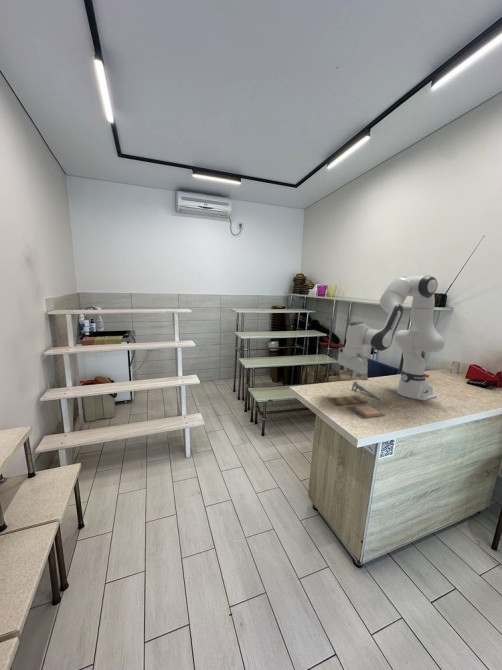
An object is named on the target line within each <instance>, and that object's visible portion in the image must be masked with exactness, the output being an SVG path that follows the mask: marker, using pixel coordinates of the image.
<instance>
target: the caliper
mask: <svg viewBox="0 0 502 670" xmlns="http://www.w3.org/2000/svg"><path fill="white" fill-rule="evenodd" d="M351 390H354V392H356V391H357V390H358V391H361V392H364V393H366V395H367V394H368V395H369V396H371V397H373V398H374V399H376V400H379V401H382V402H385V400H384V399H383V398H382V397H380V396H379V395H376V394H375V393H373V392H371V391H370V390H368V389H366V388H365V387H364V386H362V385H361V384H359V383H358V381H357V380H354V382H353V383H352V386H351Z"/></svg>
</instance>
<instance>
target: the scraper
mask: <svg viewBox="0 0 502 670" xmlns="http://www.w3.org/2000/svg"><path fill="white" fill-rule="evenodd" d="M352 374H353V370H351V369H349V370H345V369H340V370H339V377H338V380H339V381H341V382H350V381H369V378H367V377H365V376H363V374H360V373H357V374H356V376H355V378H354V379H353V378H351V375H352Z"/></svg>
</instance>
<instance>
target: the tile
mask: <svg viewBox="0 0 502 670" xmlns="http://www.w3.org/2000/svg"><path fill="white" fill-rule="evenodd" d="M359 406H360V407H357V406H355V407H356V410H357V411H358V412H359V413H361V414H362V415H364V416H365V417H374V418H376V417H375V416H380V414H381V413H382V412H380V411H378V410H377V409H376V408H374V407H373V406H370V405H369V406H367V405H359Z"/></svg>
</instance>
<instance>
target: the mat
mask: <svg viewBox="0 0 502 670" xmlns="http://www.w3.org/2000/svg"><path fill="white" fill-rule="evenodd" d="M360 406H361V405H359V406H349V407H346V409H347V410H349V411H350V412H352V413H353V414H354V415H355V416H357V417H359V418H360V419H362V420H364V419H371V418H372V419H373V418H381V417H383V418H384V417H386V415H385V414H383V413H382V412H380V413H381V414H380V416H375V417H365V416H364V415H362V414H361V413H359V412H358V411H357V410H356V407H360ZM366 406H370V405H366Z"/></svg>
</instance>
